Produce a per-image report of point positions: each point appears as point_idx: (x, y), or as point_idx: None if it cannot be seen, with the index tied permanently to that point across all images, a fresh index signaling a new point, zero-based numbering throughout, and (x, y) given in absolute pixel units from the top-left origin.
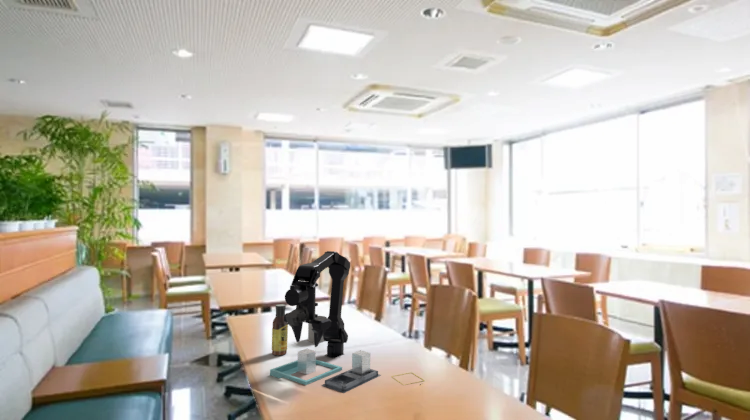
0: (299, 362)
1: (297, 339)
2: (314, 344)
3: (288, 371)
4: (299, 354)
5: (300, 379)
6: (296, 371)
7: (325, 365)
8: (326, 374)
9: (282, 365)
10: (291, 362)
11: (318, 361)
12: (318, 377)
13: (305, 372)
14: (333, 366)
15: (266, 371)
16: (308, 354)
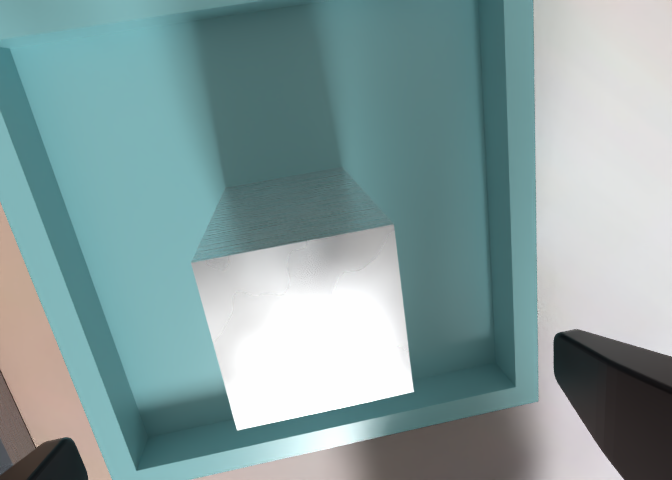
0: (331, 196)
1: (583, 362)
2: (35, 465)
3: (449, 139)
4: (346, 221)
5: (37, 10)
6: (400, 195)
7: (289, 424)
8: (50, 314)
9: (530, 108)
10: (529, 224)
11: (376, 417)
12: (8, 209)
13: (233, 194)
14: (194, 454)
15: (623, 5)
16: (203, 294)
